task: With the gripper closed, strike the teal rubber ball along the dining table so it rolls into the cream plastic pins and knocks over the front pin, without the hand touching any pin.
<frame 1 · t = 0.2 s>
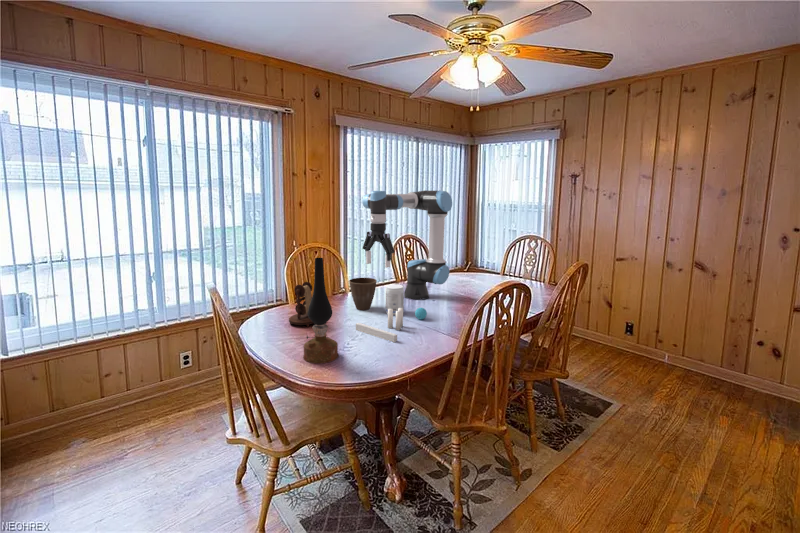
hand: (377, 265, 208), 28 cm above the table, tool pointing down, fingers open, 13 cm apart
left back pin: (398, 329, 196), on the table
supplement tub: (394, 313, 223), on the table
front pin: (400, 326, 201), on the table
oil lamp: (321, 356, 164), on the table
back wall: (375, 335, 189), on the table
dark brown upright piece: (304, 323, 205), on the table
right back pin: (390, 327, 200), on the table
ball: (420, 313, 213), on the table
plant pot: (363, 309, 230), on the table
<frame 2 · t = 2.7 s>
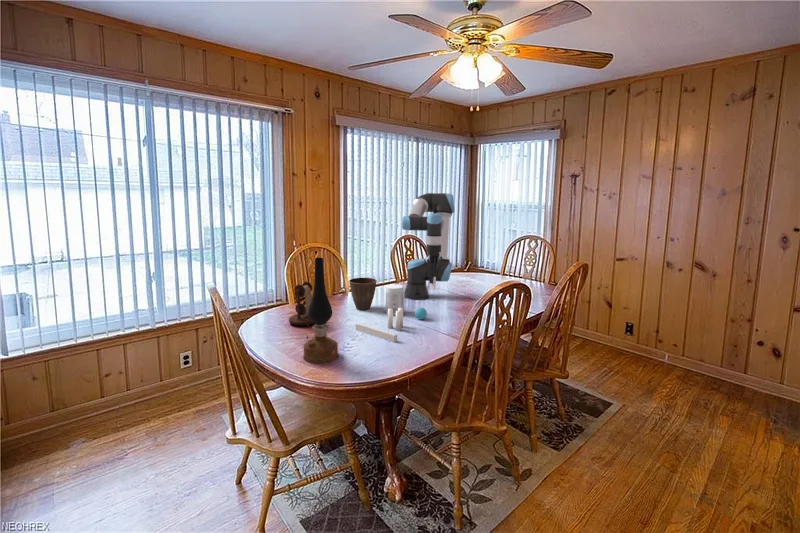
hand: (432, 289, 218), 14 cm above the table, tool pointing down, fingers closed
nothing on the table moved.
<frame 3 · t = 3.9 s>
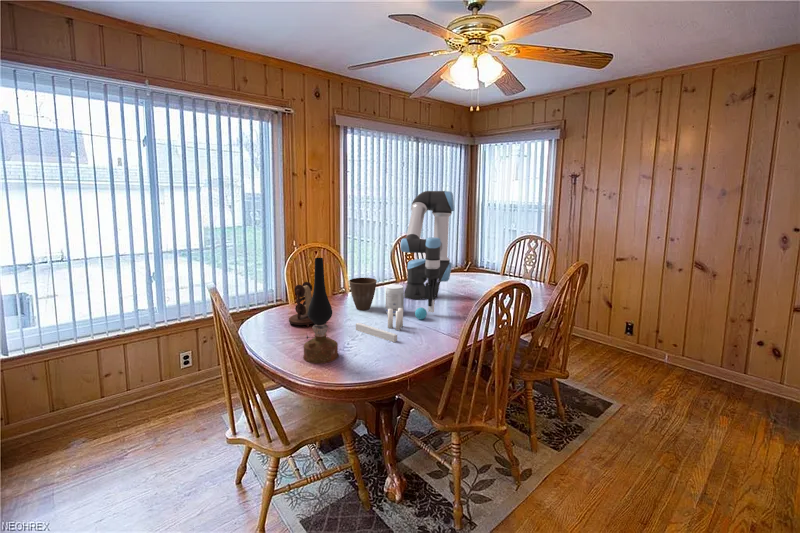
hand: (431, 311, 219), 2 cm above the table, tool pointing down, fingers closed
nothing on the table moved.
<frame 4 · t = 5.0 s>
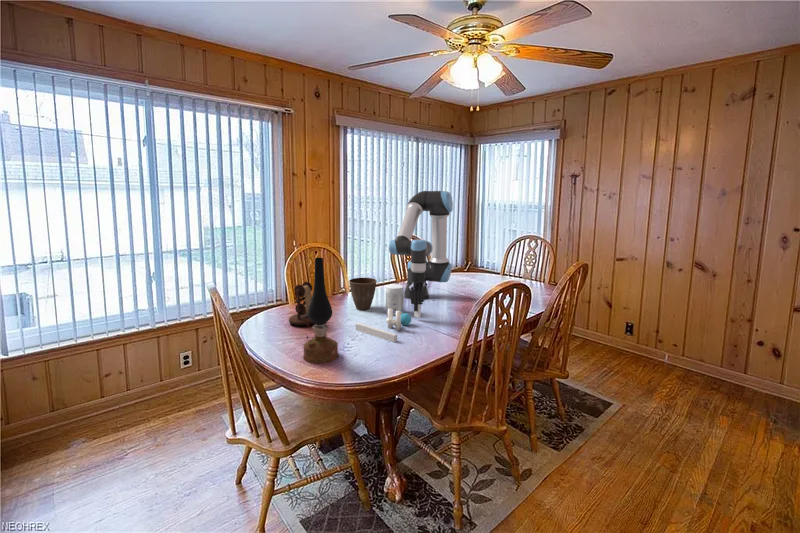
hand: (417, 316, 211), 2 cm above the table, tool pointing down, fingers closed
front pin: (399, 324, 201), point 1 cm above the table, tilted 63°
ball: (405, 319, 203), on the table
everything else where it was.
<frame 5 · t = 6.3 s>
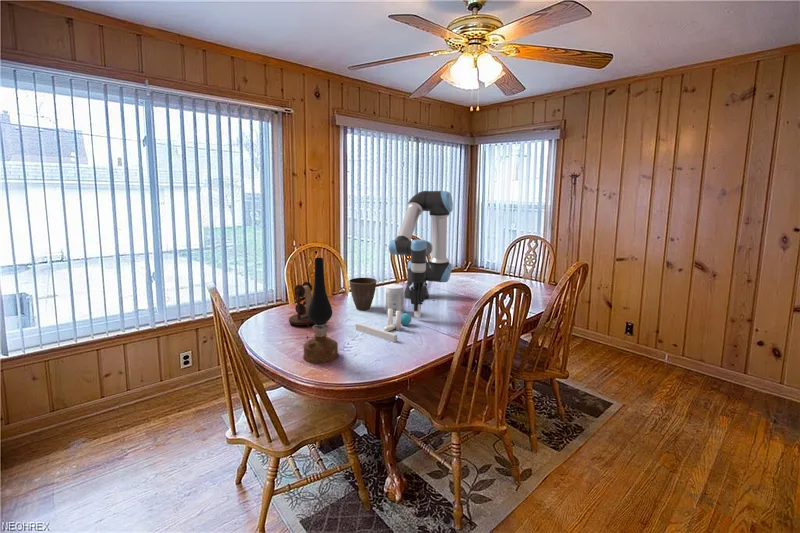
hand: (417, 316, 211), 2 cm above the table, tool pointing down, fingers closed
front pin: (398, 325, 200), point 1 cm above the table, tilted 90°
everything else where it was.
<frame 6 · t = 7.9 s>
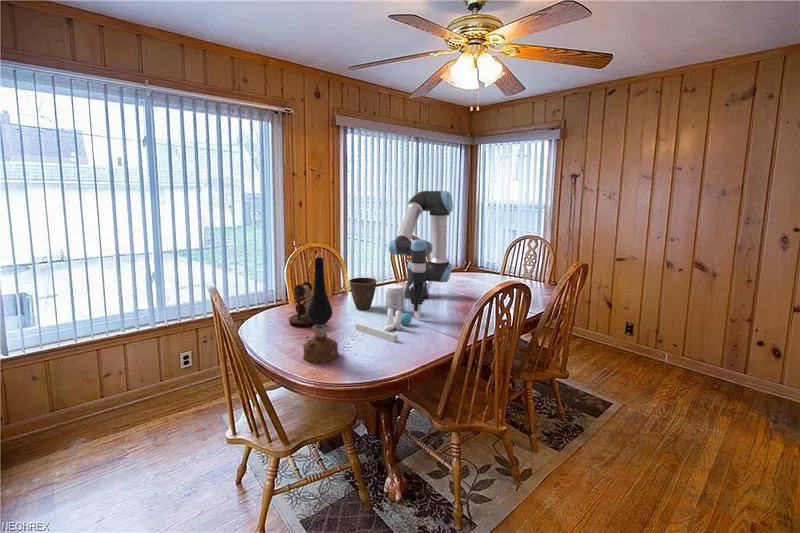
hand: (417, 316, 211), 2 cm above the table, tool pointing down, fingers closed
nothing on the table moved.
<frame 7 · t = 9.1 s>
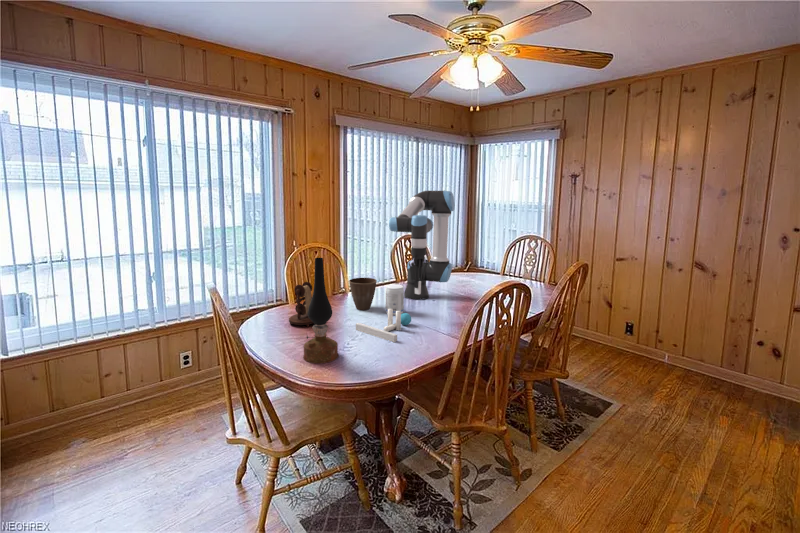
hand: (417, 293, 208), 14 cm above the table, tool pointing down, fingers closed
nothing on the table moved.
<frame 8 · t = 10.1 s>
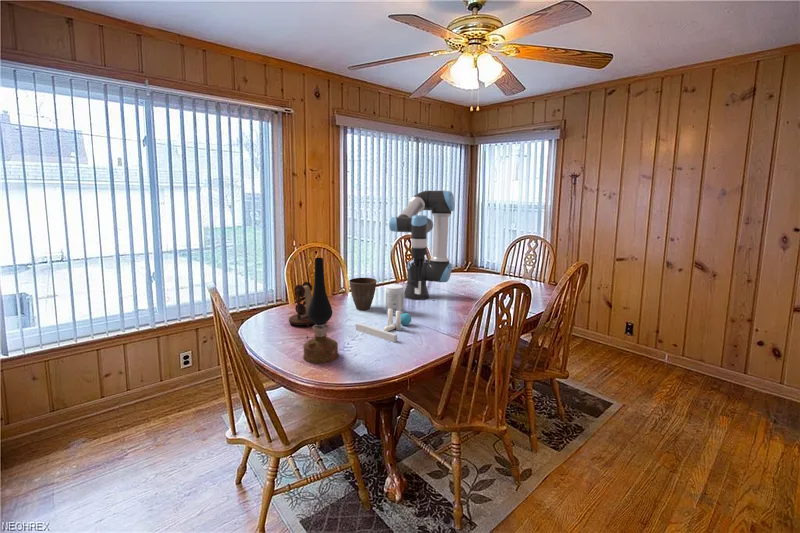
hand: (417, 293, 208), 14 cm above the table, tool pointing down, fingers closed
nothing on the table moved.
at the end: front pin tilted 90°; front pin never touched the robot; ball moved 12.7 cm from its start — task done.
